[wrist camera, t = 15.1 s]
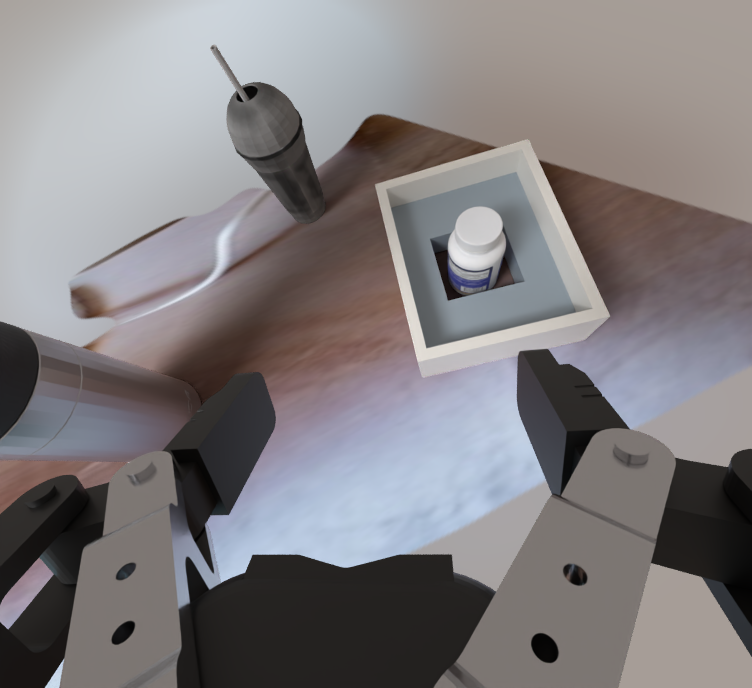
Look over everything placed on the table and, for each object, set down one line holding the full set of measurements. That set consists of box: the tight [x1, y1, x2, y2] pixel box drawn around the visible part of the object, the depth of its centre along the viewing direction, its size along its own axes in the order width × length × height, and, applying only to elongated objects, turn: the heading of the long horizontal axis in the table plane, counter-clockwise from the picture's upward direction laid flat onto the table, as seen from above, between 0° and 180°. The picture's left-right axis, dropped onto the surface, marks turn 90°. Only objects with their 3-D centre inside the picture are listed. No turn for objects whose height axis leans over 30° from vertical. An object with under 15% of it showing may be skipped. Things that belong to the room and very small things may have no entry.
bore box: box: [375, 139, 610, 378], centre depth 37 cm, size 16×20×6 cm
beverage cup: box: [210, 45, 326, 224], centre depth 37 cm, size 7×7×20 cm
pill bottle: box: [448, 206, 506, 296], centre depth 35 cm, size 5×5×9 cm
